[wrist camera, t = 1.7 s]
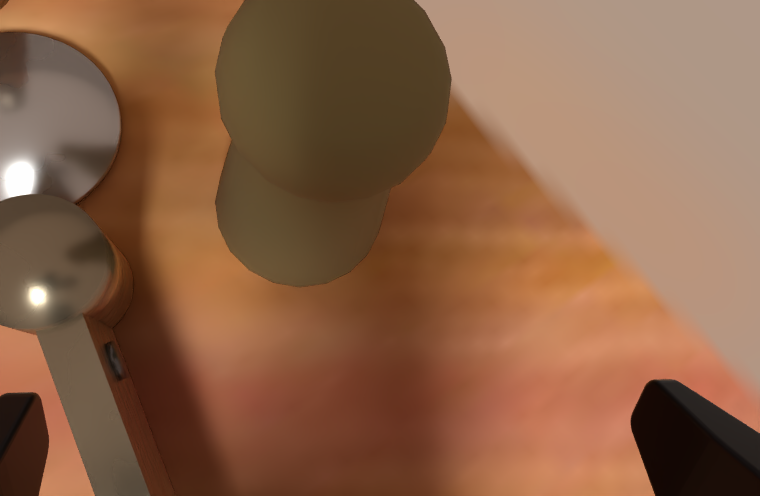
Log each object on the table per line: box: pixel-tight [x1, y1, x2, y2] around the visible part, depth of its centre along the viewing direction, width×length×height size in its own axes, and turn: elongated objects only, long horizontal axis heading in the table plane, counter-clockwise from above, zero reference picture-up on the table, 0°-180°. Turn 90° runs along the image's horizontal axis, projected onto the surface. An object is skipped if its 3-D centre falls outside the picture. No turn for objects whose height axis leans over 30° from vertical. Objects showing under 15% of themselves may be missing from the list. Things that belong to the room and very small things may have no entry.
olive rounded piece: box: [215, 0, 451, 287], centre depth 18 cm, size 6×6×11 cm
